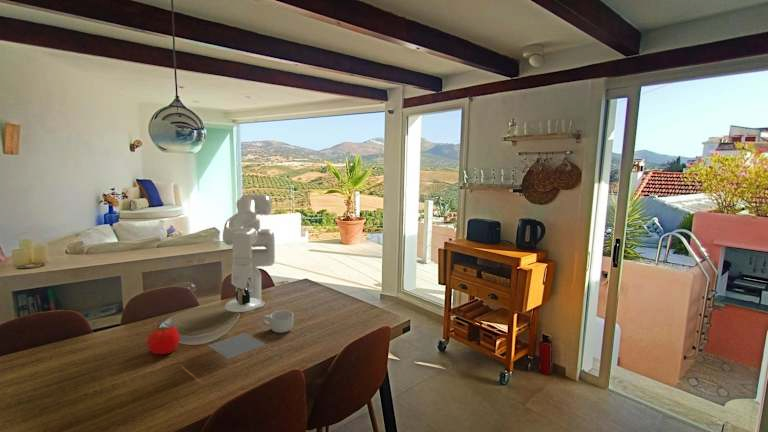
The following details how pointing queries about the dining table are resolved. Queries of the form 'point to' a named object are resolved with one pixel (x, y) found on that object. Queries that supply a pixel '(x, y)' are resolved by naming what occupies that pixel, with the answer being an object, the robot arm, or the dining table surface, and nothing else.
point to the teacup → (280, 321)
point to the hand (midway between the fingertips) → (243, 301)
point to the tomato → (163, 340)
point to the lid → (239, 307)
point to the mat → (236, 345)
